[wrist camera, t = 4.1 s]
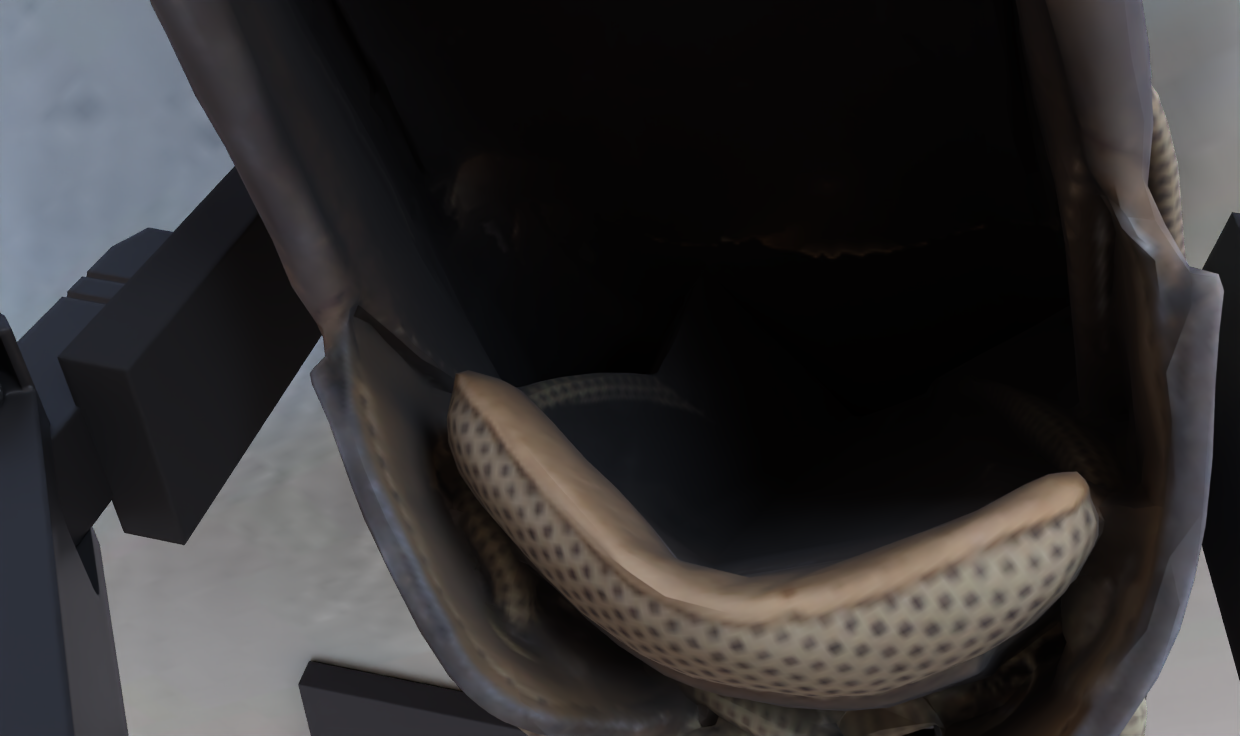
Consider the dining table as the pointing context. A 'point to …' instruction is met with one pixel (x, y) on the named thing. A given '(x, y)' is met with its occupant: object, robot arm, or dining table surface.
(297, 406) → the dining table surface
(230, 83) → the boat shoe
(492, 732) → the boot mat
